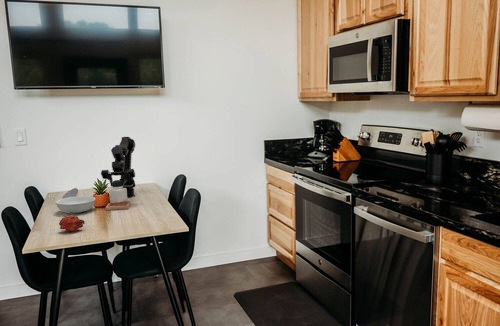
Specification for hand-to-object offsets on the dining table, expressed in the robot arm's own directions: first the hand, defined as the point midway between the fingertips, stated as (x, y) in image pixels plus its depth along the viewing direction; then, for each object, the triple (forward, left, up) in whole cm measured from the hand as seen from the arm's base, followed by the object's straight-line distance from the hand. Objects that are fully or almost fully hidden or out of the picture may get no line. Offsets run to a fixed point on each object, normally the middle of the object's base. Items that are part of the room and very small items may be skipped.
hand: (117, 185), depth 247 cm
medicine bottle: (-1, +1, -9) cm, 10 cm away
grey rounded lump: (-40, +4, -14) cm, 42 cm away
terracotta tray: (-1, +1, -13) cm, 13 cm away
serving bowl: (-19, -13, -14) cm, 27 cm away
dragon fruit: (+7, -43, -13) cm, 46 cm away
